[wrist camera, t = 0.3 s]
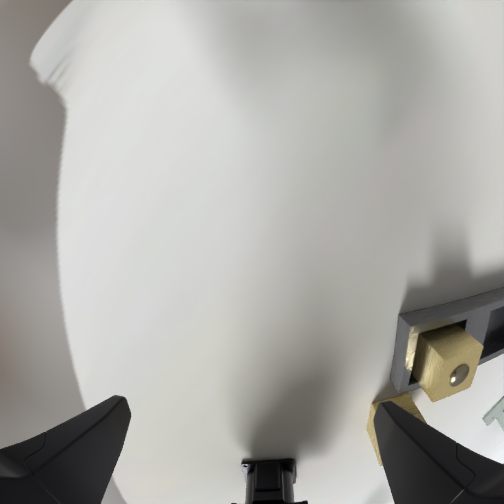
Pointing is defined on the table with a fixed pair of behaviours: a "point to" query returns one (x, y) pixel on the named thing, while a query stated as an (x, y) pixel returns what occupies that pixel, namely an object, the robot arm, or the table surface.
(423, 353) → the block
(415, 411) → the tan knobbed block
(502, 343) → the grey slotted tray
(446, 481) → the robot arm
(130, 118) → the table surface
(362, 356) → the table surface
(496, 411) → the metal bracket
